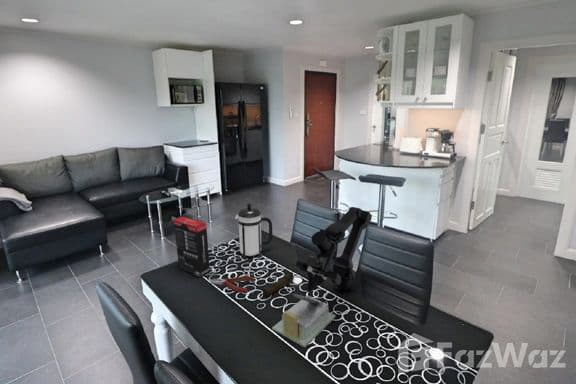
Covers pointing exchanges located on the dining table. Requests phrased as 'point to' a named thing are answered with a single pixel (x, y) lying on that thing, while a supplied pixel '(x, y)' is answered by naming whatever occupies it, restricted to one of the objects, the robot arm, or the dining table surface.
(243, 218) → the coffee press
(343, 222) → the robot arm
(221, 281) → the pliers
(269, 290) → the hand tool
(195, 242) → the graphics card box
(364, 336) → the dining table surface
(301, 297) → the dark grey flat bar
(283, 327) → the board
